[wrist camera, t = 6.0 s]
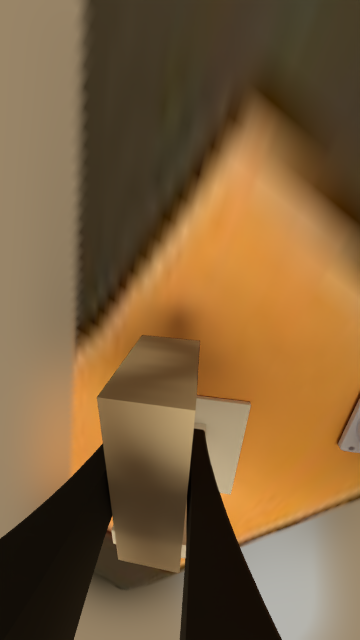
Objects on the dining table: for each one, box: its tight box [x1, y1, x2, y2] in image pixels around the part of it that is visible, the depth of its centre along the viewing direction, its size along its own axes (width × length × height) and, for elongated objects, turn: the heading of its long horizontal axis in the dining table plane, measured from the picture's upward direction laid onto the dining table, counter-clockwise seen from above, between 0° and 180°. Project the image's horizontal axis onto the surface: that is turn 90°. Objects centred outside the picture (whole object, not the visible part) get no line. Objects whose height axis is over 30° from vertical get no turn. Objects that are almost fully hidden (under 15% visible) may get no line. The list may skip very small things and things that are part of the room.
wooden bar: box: [97, 335, 200, 573], centre depth 10 cm, size 3×10×4 cm, turn 177°
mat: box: [194, 395, 251, 494], centre depth 22 cm, size 14×14×1 cm
